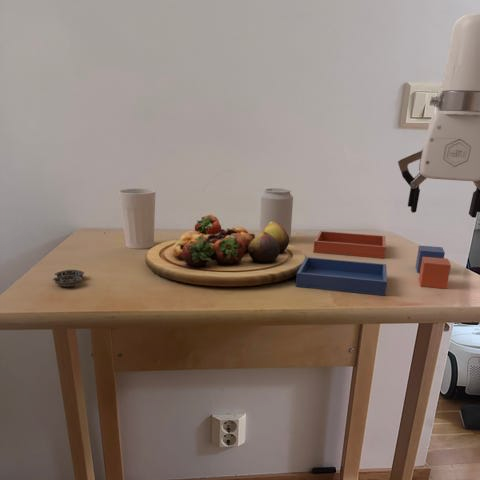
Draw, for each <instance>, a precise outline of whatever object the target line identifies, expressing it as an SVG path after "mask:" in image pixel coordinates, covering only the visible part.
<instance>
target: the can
mask: <svg viewBox="0 0 480 480" xmlns="http://www.w3.org/2000/svg"><path fill="white" fill-rule="evenodd" d="M263 190H264V193H262V195H261V196H260V214H259V215H260V217H259V219H260V220H259V235H260V234H261V233H262V231H263V229H264V228H265V227H266V226H267V225H268V224H269V223H270V222H276V223H277V224H279V225H280V226H281V227H282V228H284V230H285V231H286V232H287V234H288V236H289V239H291V237H292V235H291V234H292V222H293V207H294V206H293V205H294V196H293V195H292V193H291V192H292V190H291V189H286V188H281V187H280V188H277V187H270V188H265V189H263Z"/></svg>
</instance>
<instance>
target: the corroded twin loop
mask: <svg viewBox="0 0 480 480" xmlns="http://www.w3.org/2000/svg"><path fill="white" fill-rule="evenodd" d="M84 275H85V271H82V270H80V269H79V270H78V269H66V270H61V271H57V272H55V273H54V276H56V277H54V278H53V279H52V281H54V282H55V285H57V286H59V287H67V288H69V287H72V286H75V285H79V284H80V283H81V280H82V279H83V277H84Z"/></svg>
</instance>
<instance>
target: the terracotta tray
mask: <svg viewBox="0 0 480 480" xmlns="http://www.w3.org/2000/svg"><path fill="white" fill-rule="evenodd" d="M386 245H387V244H386V235H379V234H378V235H377V234H364V233H353V232H352V233H351V232H338V231H328V230H327V231H326V230H319V232H318V234H317V236H316V237H315V239H314V241H313V251H312V252H313V253H317V254H328V255H330V254H331V255H341V256H351V257H352V256H353V257H364V258H375V259H385V254H386V248H387V247H386Z"/></svg>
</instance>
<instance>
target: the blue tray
mask: <svg viewBox="0 0 480 480" xmlns="http://www.w3.org/2000/svg"><path fill="white" fill-rule="evenodd" d="M387 275H388V273H387V263H376V262H365V261H355V260H343V259H333V258H321V257H312V256H311V257H310V256H305V259H304V261H303V263H302V265H301V267H300V268H299V270H298V272H297V275H296V277H295V278H296V280H295V287H297V288H306V289H316V290H325V291H335V292H344V293H353V294H363V295H373V296H383V297H384V296H386V293H387V292H386V291H387V285H388V276H387Z"/></svg>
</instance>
